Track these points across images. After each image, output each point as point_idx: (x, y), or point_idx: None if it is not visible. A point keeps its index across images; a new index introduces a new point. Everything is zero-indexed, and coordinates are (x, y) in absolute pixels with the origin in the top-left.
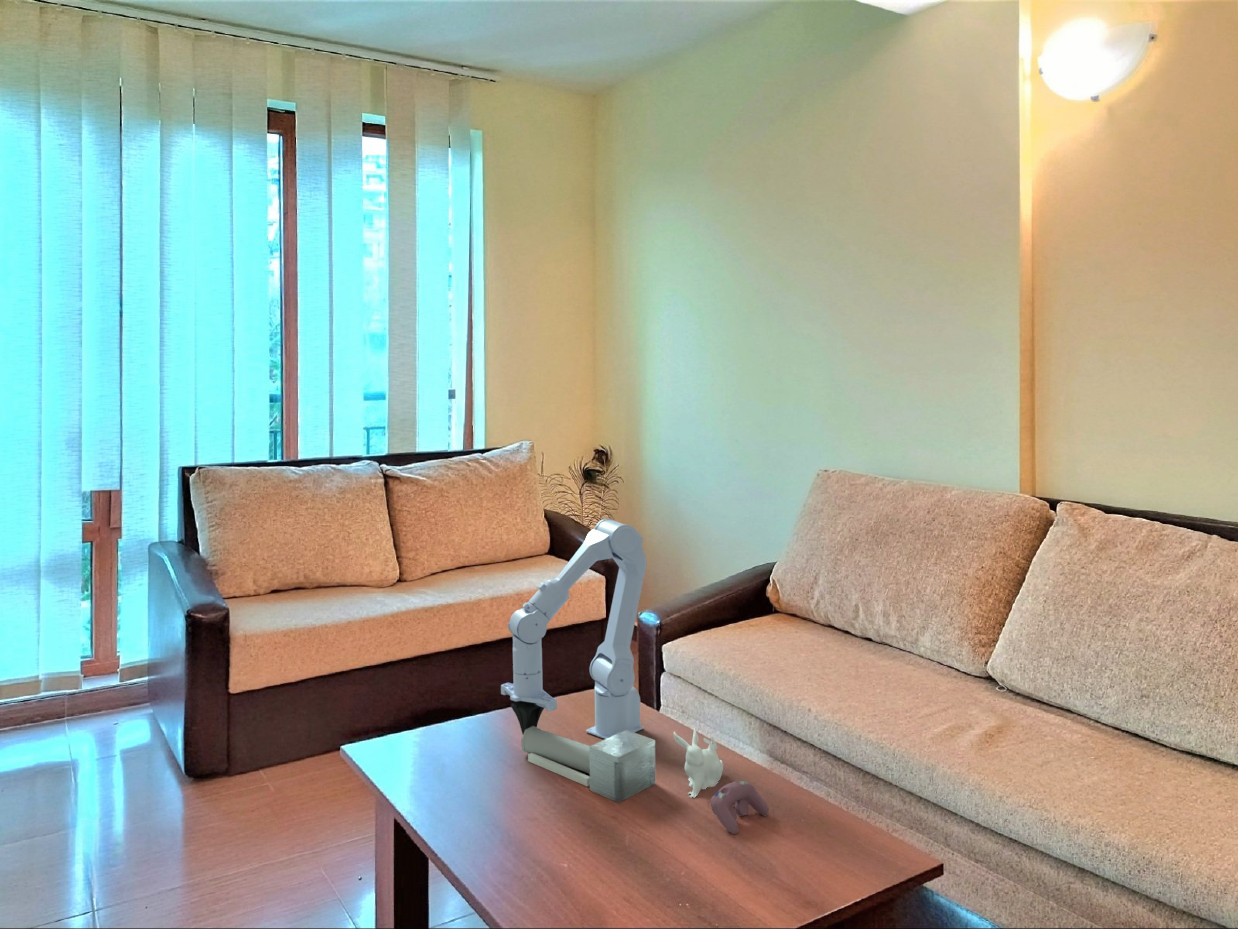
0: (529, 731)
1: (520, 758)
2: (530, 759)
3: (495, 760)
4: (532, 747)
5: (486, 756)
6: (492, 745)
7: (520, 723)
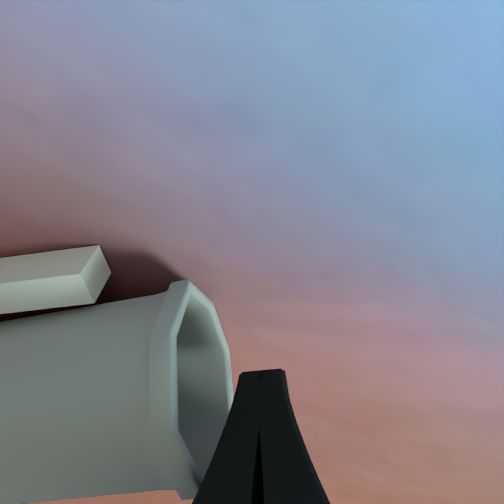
0: (137, 442)
1: (171, 233)
2: (67, 259)
3: (253, 69)
4: (76, 334)
5: (380, 48)
6: (500, 201)
7: (293, 476)
